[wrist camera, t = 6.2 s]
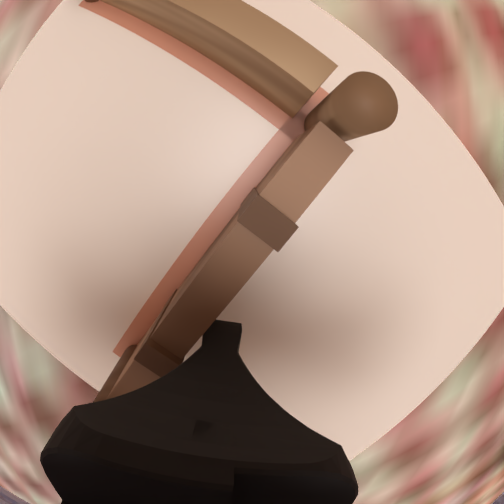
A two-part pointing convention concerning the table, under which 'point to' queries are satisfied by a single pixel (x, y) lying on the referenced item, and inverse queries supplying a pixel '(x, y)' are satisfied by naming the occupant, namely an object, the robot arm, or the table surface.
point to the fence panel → (232, 258)
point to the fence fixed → (272, 61)
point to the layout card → (223, 209)
